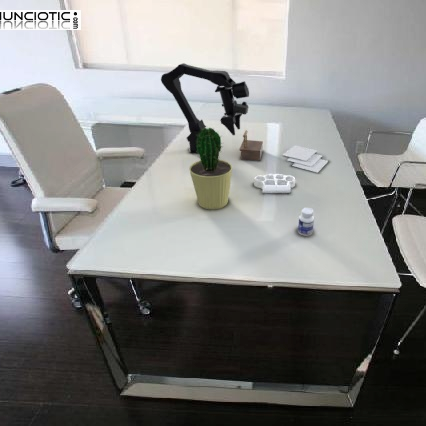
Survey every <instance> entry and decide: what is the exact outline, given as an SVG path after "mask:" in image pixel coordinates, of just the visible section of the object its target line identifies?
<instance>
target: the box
mask: <svg viewBox="0 0 426 426" xmlns="http://www.w3.org/2000/svg"><path fill="white" fill-rule="evenodd" d="M263 148H264V143H263V144H262V147H261V151H260V152H249V151H240V160H242V161H243V160H244V161H255V162H256V161H257V162H260V161H261V159H262V156H263V151H264V149H263Z"/></svg>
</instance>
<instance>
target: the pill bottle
mask: <svg viewBox="0 0 426 426" xmlns="http://www.w3.org/2000/svg"><path fill="white" fill-rule="evenodd" d="M314 223H315V216H314V210H313V208H311V207H303V208H302V209H301V214H299V217H298V225H297V232H298V234H300V235H301V236H303V237H308V236H311V235H312V234H313V231H314Z"/></svg>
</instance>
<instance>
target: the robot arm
mask: <svg viewBox="0 0 426 426" xmlns="http://www.w3.org/2000/svg"><path fill="white" fill-rule="evenodd" d="M184 75H187V76H189V77H190V76H191V77H195V78H198V79H202V80H207V81H209V82H210V83H212V84H214V85H216V87H215V90H214V93H219V95H220V98H221V99H220V100H221V102H222V103H221V107H223V109H224V110H223V111H224V113H223V116H221V118H220V120H219V122H220V124H221V125H223V126H224V127H225V128H226V129H227V130H228V131H229V133H230V134H231V135H232V136H236V129H237V130H241V117H242V116H244V115H247V114H248V111H249V105H248V104H247V101H242V103H238V102H237V100H238V99H243V98H249V97H250V90H249V87H248V84H247V83H246V81H244V80H243V81H241V82H236V81H235V80H234V79H233V78H231V76H230V74H229V72H228V71H226V70H218V69H217V70H210V69H206V68H202V67H197V66H193V65H189V64H187V63H180V64H178V65H177V66H176V67H175V68H173V69H172V70H171V71H167V72H165V73H164V74H162V75H161V77H160V81H161V84H162V85H163V86H164V88H165V89H166V90H167V91H168V93H170V94H172V96H173V98H174V100H175V102H176V104H177V106H178V107H179V109H180V110H181V112H182V114H183V116H184V118H185V119H186V121H187V125H188V131H189V135H187V136H186V140H187V142H188V143H189V153H190V154H196V152H197V154H199V153H198V151H197V148H196V147H197V144H196V143H197V140H198V136H199V134H198V133H201V131H202V130H203V129H202V128H204V129H205V128H207V125H206V124H205V122H204V120H203V119H199V118H198V117H197V116H196V115H195V111H194V110H193V109H192V107H191V105H190V103H189V101H188V99H187V97H186V96H185V94H184V92H183V90H182V84H181V80H180V79H181V78H182V77H183V76H184ZM235 99H236V100H235ZM204 126H205V127H204ZM196 134H197V135H196ZM195 141H196V142H195Z"/></svg>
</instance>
